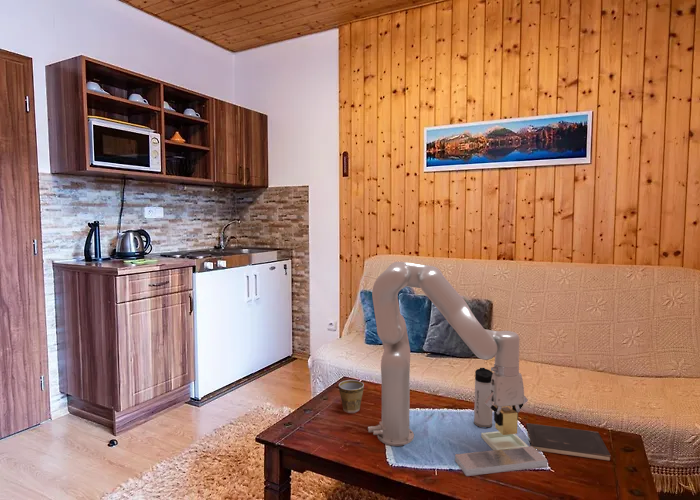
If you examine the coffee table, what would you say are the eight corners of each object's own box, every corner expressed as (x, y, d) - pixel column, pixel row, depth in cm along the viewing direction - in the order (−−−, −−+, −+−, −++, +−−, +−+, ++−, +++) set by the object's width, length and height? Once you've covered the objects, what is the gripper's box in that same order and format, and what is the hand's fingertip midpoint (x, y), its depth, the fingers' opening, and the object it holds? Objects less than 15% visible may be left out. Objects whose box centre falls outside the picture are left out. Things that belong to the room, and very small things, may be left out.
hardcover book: (610, 463, 133) (611, 456, 133) (531, 451, 140) (531, 445, 140) (597, 437, 149) (597, 430, 148) (525, 428, 155) (526, 422, 155)
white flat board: (466, 477, 126) (466, 469, 125) (455, 462, 133) (455, 454, 133) (547, 468, 130) (547, 460, 130) (531, 453, 138) (531, 446, 138)
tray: (497, 456, 136) (497, 450, 136) (481, 438, 147) (481, 432, 147) (529, 452, 138) (529, 446, 138) (510, 435, 149) (511, 429, 149)
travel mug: (489, 419, 160) (490, 367, 159) (493, 428, 154) (495, 374, 152) (472, 419, 161) (473, 367, 159) (475, 427, 154) (477, 373, 153)
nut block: (503, 435, 139) (503, 413, 139) (495, 427, 144) (495, 406, 144) (517, 433, 140) (517, 411, 139) (509, 426, 145) (509, 404, 144)
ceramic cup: (364, 415, 165) (364, 389, 164) (338, 415, 165) (338, 389, 164) (363, 400, 178) (363, 377, 177) (339, 400, 178) (339, 377, 177)
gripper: (488, 375, 135) (487, 431, 137) (537, 371, 138) (536, 425, 140) (476, 367, 143) (476, 420, 144) (523, 363, 146) (523, 415, 147)
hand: (506, 422), depth 142 cm, fingers closed on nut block, 5 cm apart
